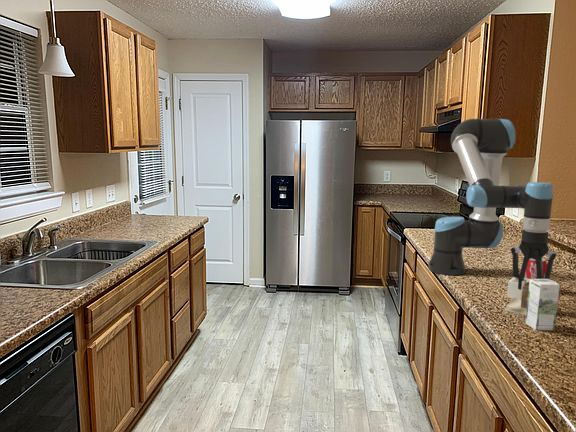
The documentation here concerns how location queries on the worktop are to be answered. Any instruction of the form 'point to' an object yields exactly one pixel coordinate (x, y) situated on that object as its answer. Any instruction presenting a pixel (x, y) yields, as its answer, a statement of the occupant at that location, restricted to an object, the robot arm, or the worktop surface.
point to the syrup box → (542, 304)
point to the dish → (514, 288)
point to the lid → (519, 301)
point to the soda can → (532, 271)
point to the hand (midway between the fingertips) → (528, 300)
